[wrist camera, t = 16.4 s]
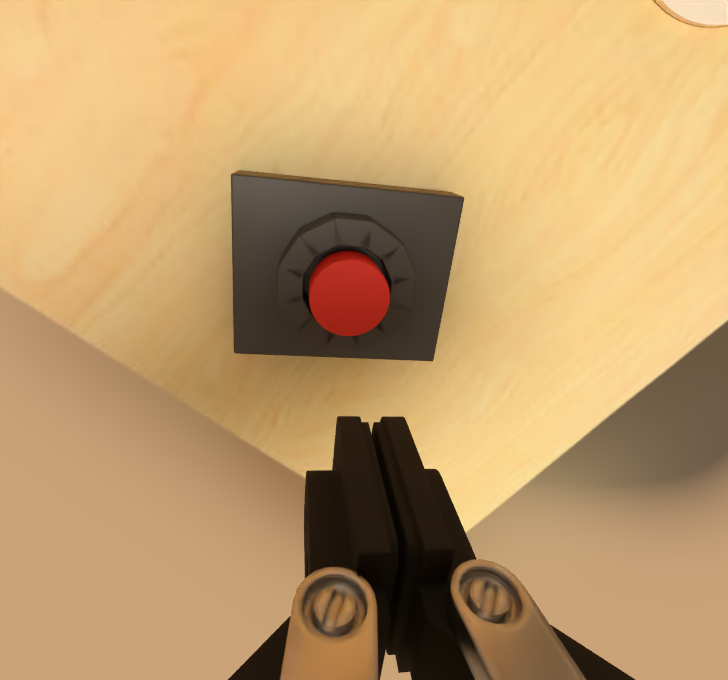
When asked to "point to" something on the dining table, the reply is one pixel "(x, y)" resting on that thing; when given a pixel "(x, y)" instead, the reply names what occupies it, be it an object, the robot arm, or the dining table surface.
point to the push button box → (329, 235)
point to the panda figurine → (698, 11)
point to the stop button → (348, 293)
